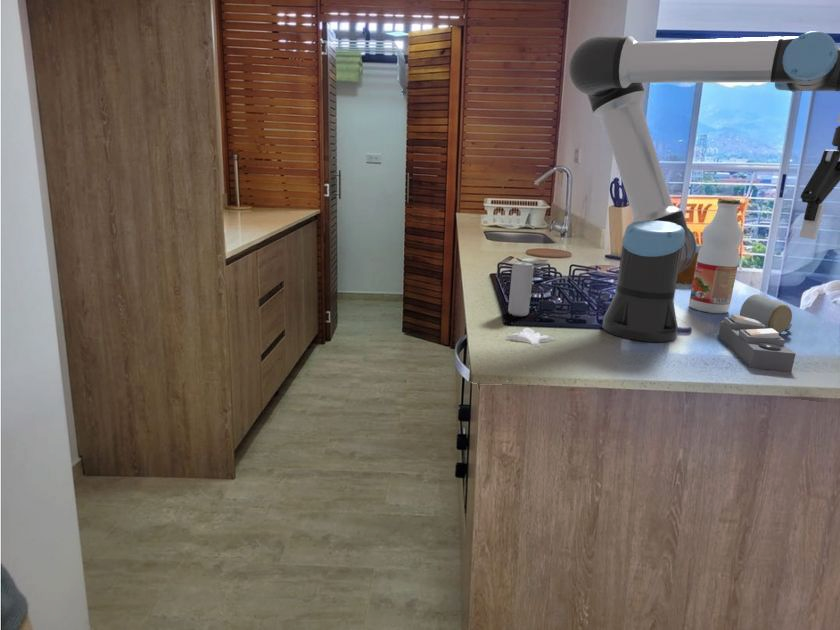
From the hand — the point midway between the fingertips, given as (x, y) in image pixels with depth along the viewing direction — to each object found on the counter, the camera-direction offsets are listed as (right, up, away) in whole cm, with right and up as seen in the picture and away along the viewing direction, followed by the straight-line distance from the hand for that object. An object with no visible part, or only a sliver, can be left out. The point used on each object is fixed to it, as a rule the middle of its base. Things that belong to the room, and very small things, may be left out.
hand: (829, 238), depth 115 cm
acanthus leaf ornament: (-59, -21, +2) cm, 62 cm away
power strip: (-15, -23, +1) cm, 27 cm away
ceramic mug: (-1, -19, +19) cm, 27 cm away
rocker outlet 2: (-15, -19, -3) cm, 24 cm away
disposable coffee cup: (+2, -5, +70) cm, 70 cm away
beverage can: (-58, -15, +21) cm, 63 cm away
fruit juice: (-7, -14, +35) cm, 39 cm away
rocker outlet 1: (-13, -17, +6) cm, 22 cm away
